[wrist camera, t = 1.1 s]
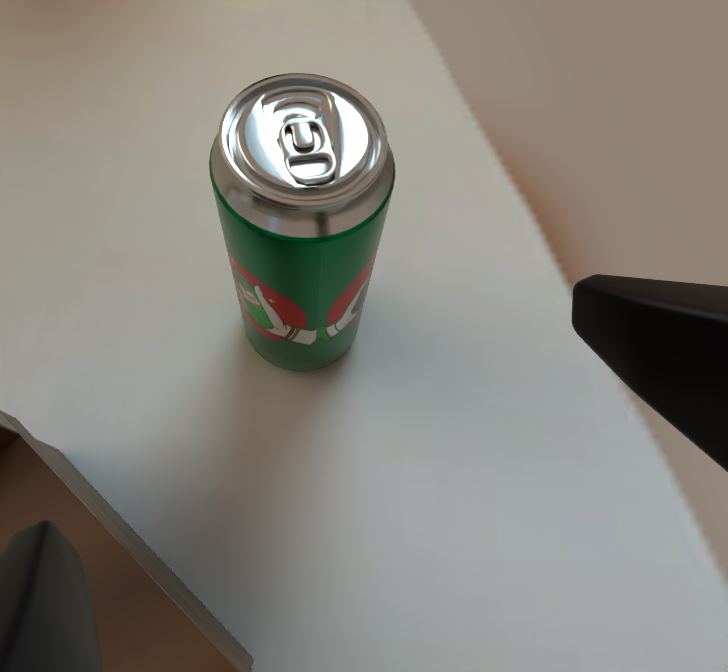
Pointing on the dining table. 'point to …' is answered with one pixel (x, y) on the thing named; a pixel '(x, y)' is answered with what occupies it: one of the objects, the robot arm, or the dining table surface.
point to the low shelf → (112, 566)
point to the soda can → (301, 212)
